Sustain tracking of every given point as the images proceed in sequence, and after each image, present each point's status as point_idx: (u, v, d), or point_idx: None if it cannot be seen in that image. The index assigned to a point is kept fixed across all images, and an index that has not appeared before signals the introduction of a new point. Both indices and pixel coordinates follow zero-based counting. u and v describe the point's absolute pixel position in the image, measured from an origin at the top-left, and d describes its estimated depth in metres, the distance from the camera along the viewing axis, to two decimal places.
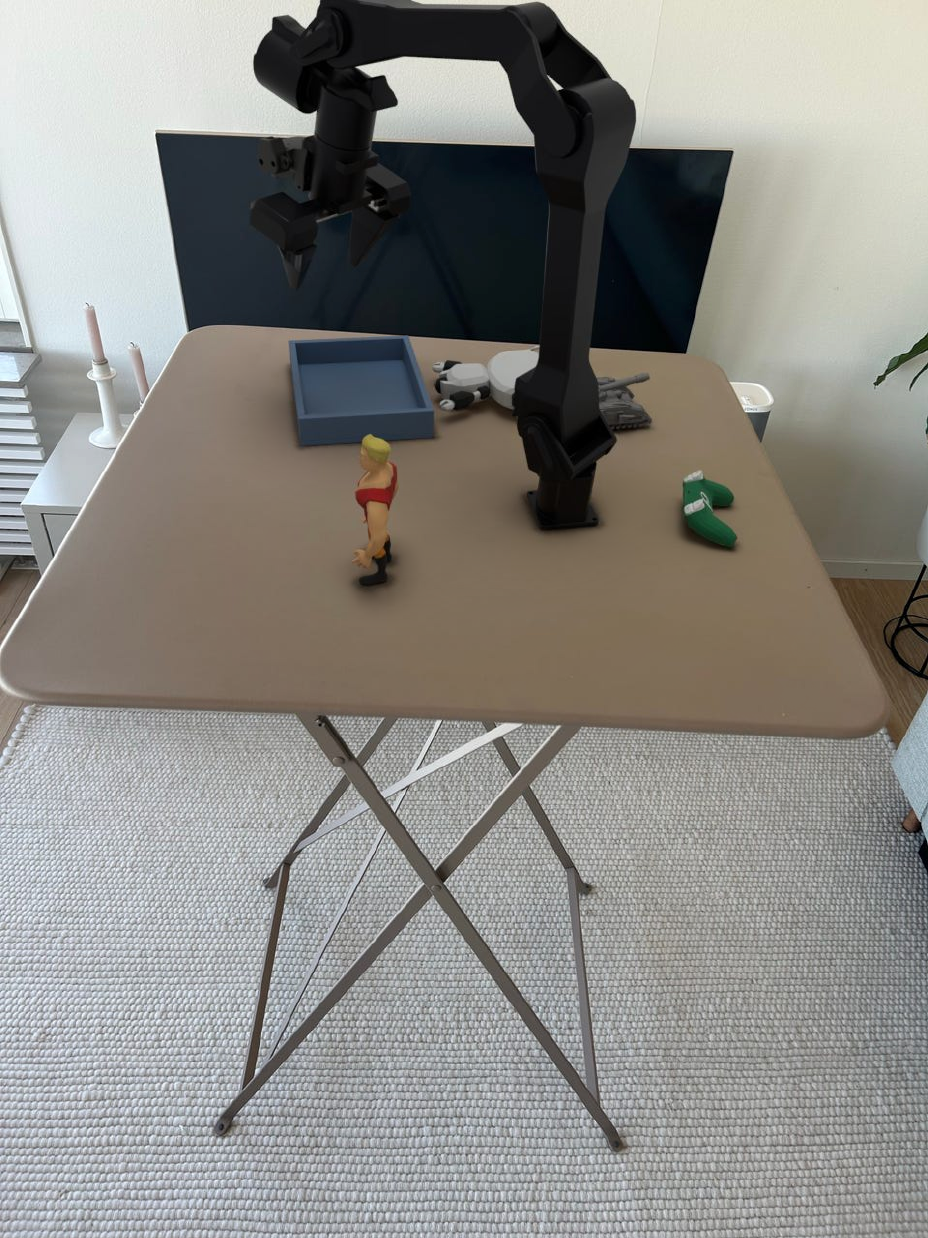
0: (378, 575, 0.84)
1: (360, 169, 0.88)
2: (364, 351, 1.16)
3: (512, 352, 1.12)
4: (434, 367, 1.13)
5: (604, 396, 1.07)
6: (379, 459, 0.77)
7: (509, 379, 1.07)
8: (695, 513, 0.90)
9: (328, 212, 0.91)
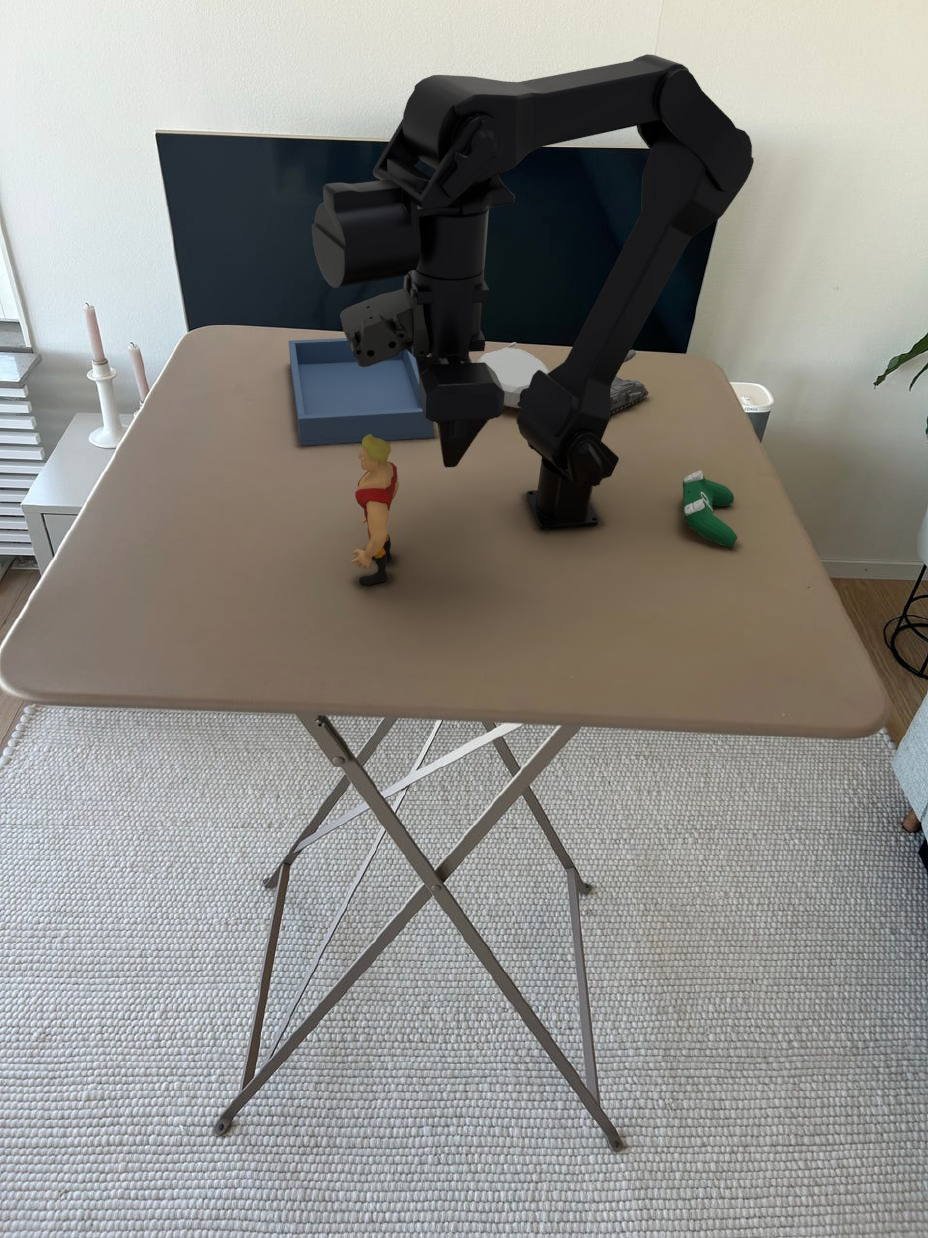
0: (378, 575, 0.84)
1: None
2: None
3: (495, 352, 1.12)
4: None
5: None
6: (379, 459, 0.77)
7: (511, 379, 1.08)
8: (695, 513, 0.90)
9: (463, 358, 0.73)
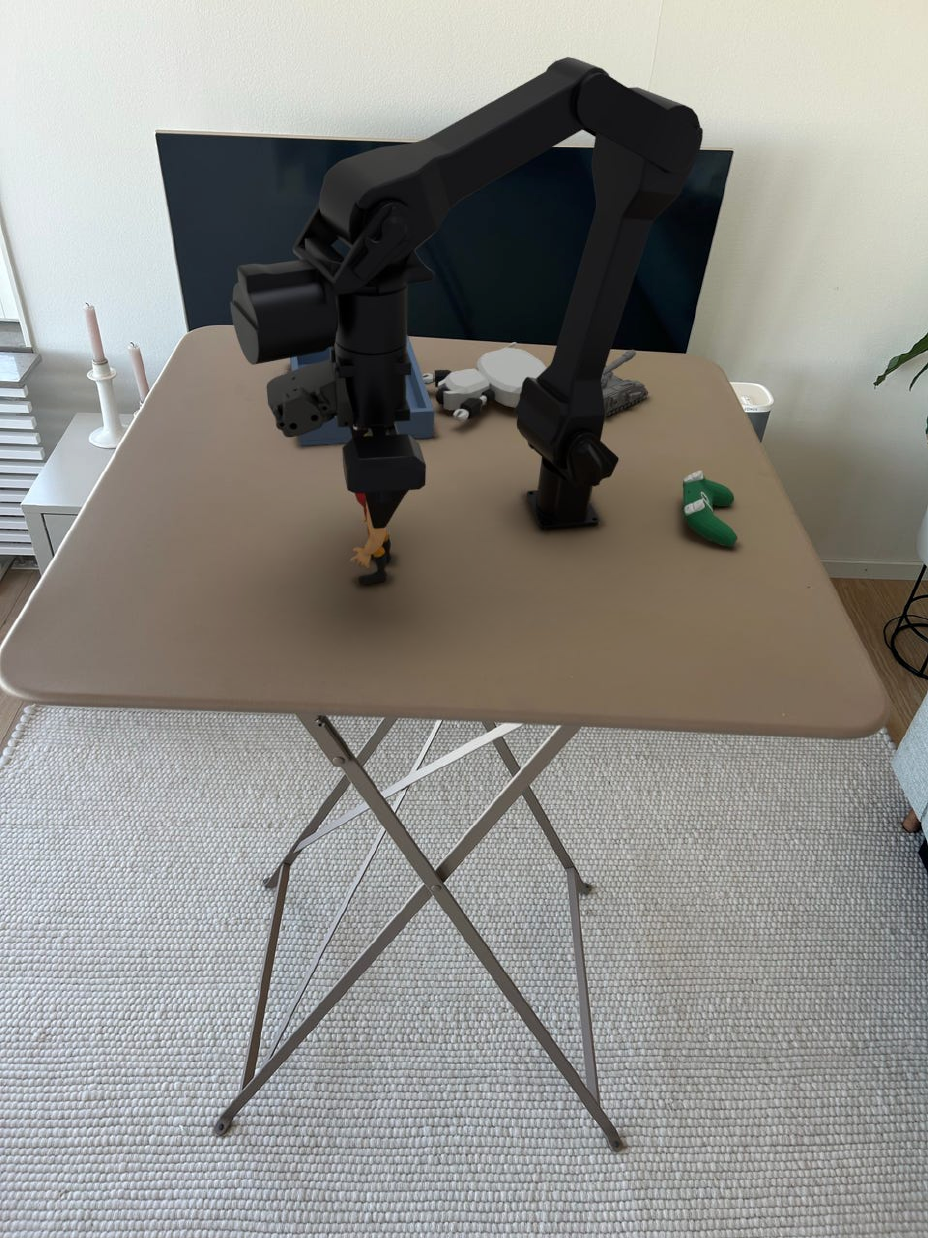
0: (377, 574, 0.84)
1: None
2: None
3: (495, 352, 1.12)
4: (424, 379, 1.10)
5: (606, 380, 1.11)
6: None
7: (511, 379, 1.08)
8: (695, 513, 0.90)
9: None
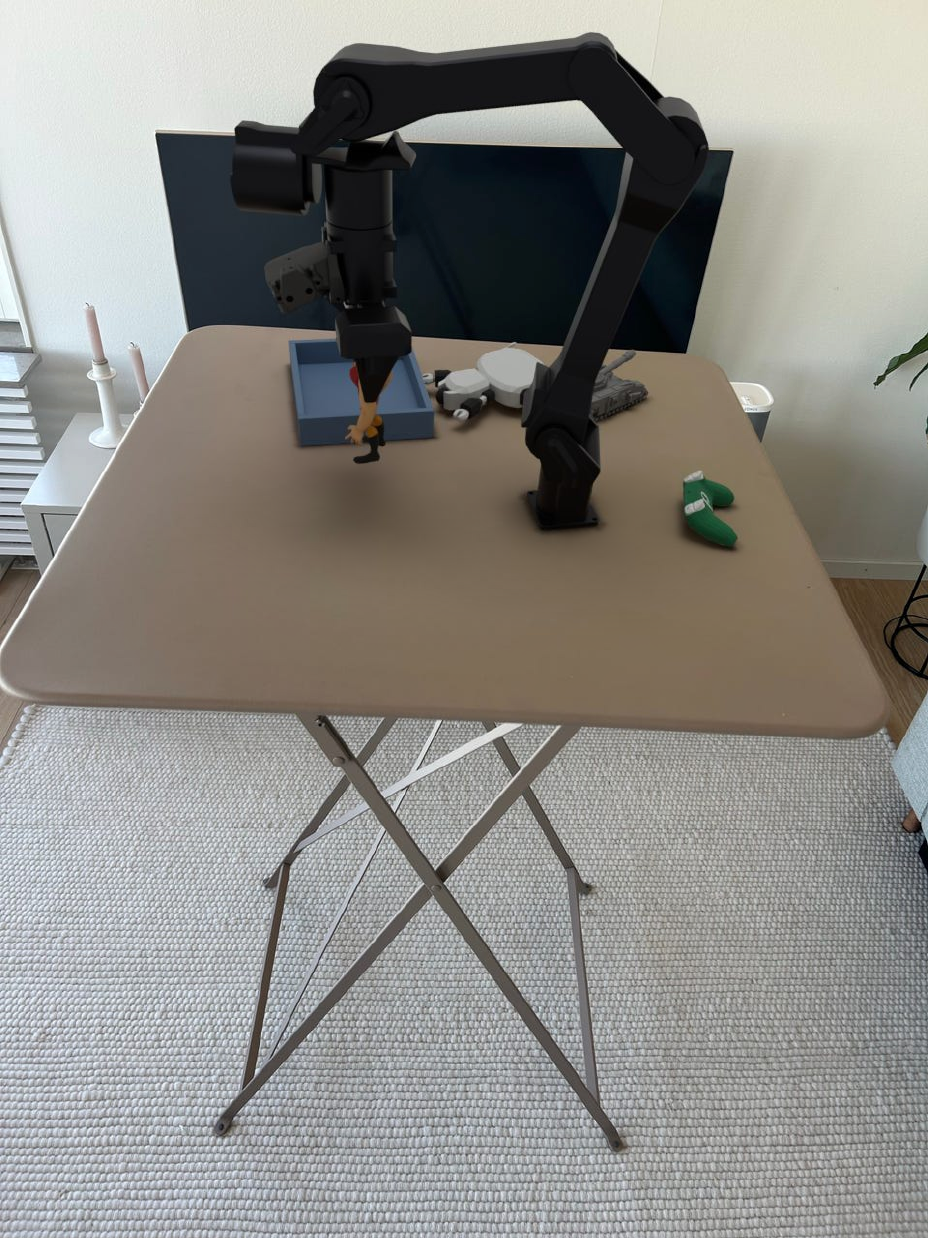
0: (371, 455, 0.91)
1: None
2: None
3: (495, 352, 1.12)
4: (424, 379, 1.10)
5: (606, 380, 1.11)
6: None
7: (511, 379, 1.08)
8: (695, 513, 0.90)
9: None
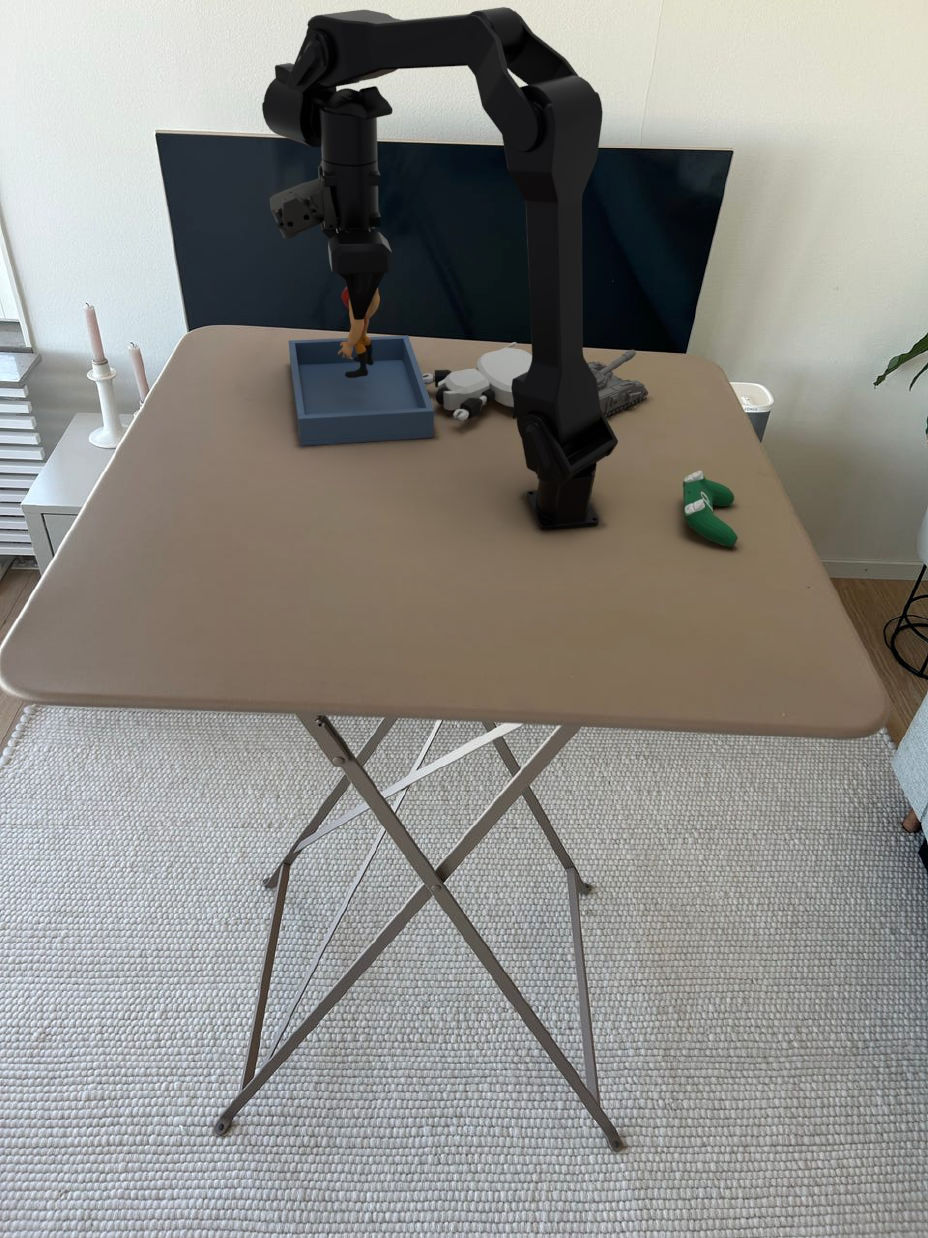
0: (360, 370, 1.06)
1: None
2: None
3: (495, 352, 1.12)
4: (424, 379, 1.10)
5: (606, 380, 1.11)
6: None
7: (511, 379, 1.08)
8: (695, 513, 0.90)
9: None
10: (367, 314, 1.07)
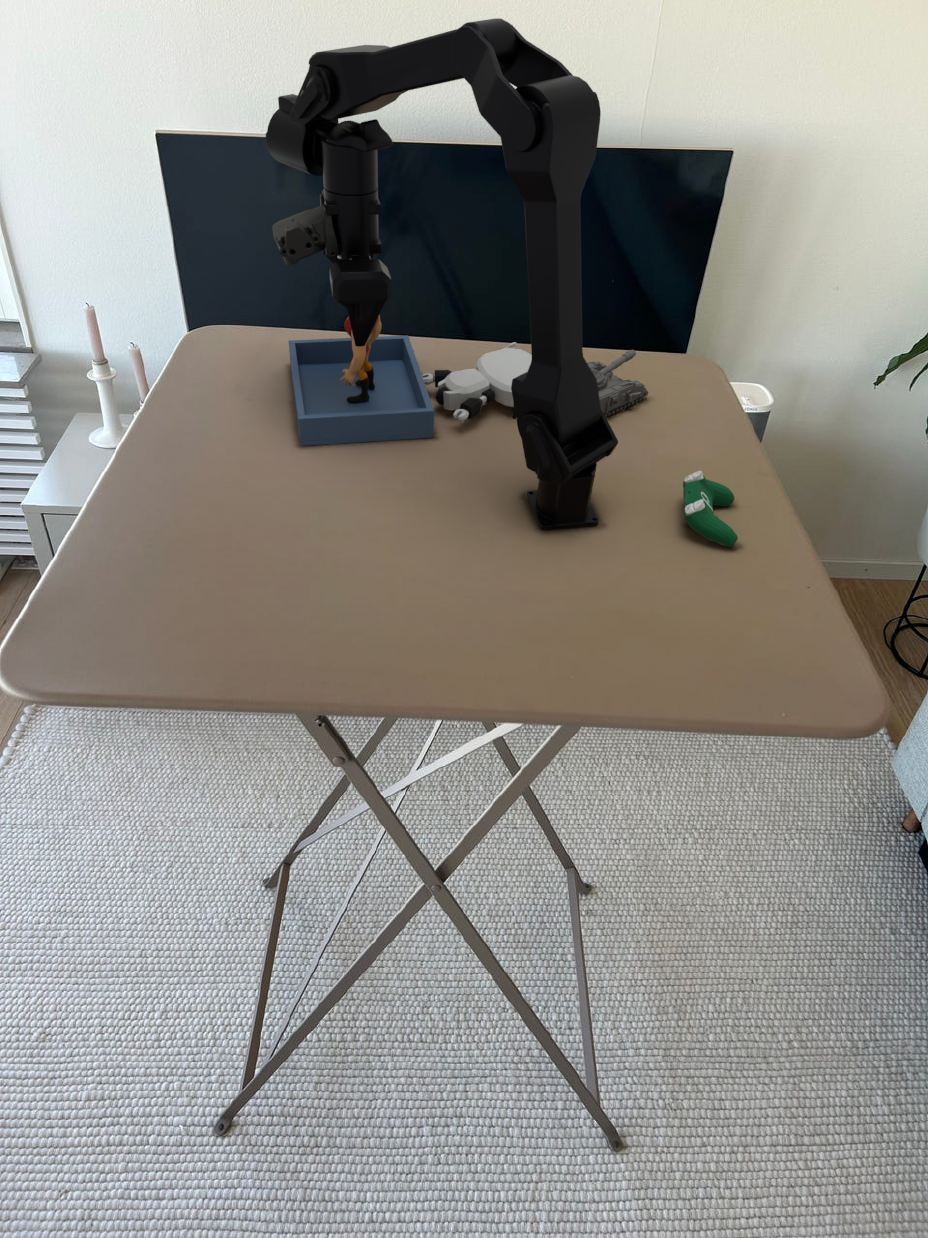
0: (361, 395, 1.08)
1: None
2: None
3: (495, 352, 1.12)
4: (424, 379, 1.10)
5: (606, 380, 1.11)
6: None
7: (511, 379, 1.08)
8: (696, 513, 0.90)
9: (366, 259, 0.97)
10: (369, 340, 1.09)
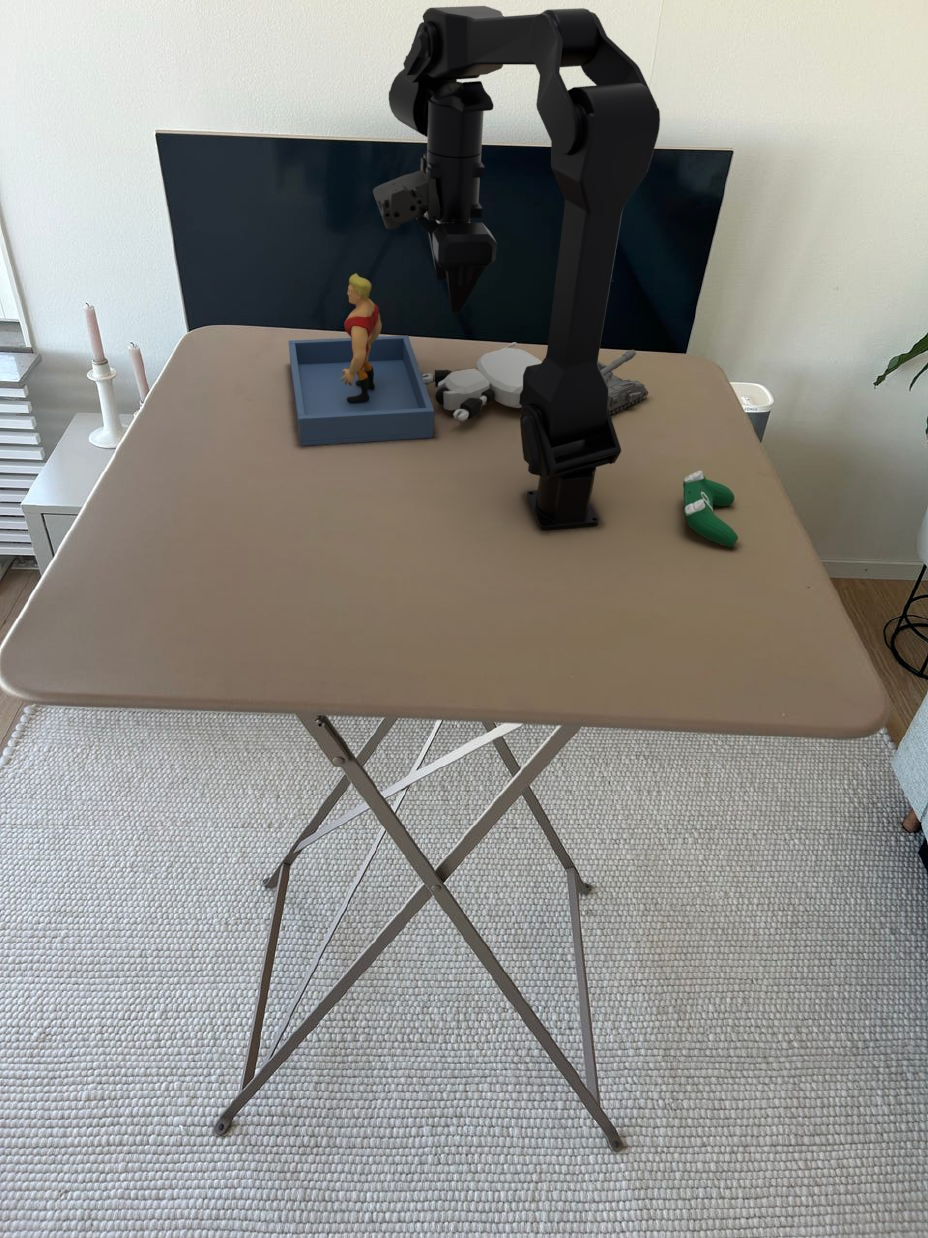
0: (361, 395, 1.08)
1: None
2: None
3: (495, 352, 1.12)
4: (424, 379, 1.10)
5: (606, 380, 1.11)
6: (362, 293, 1.01)
7: (511, 379, 1.08)
8: (696, 513, 0.90)
9: None
10: (369, 340, 1.09)
